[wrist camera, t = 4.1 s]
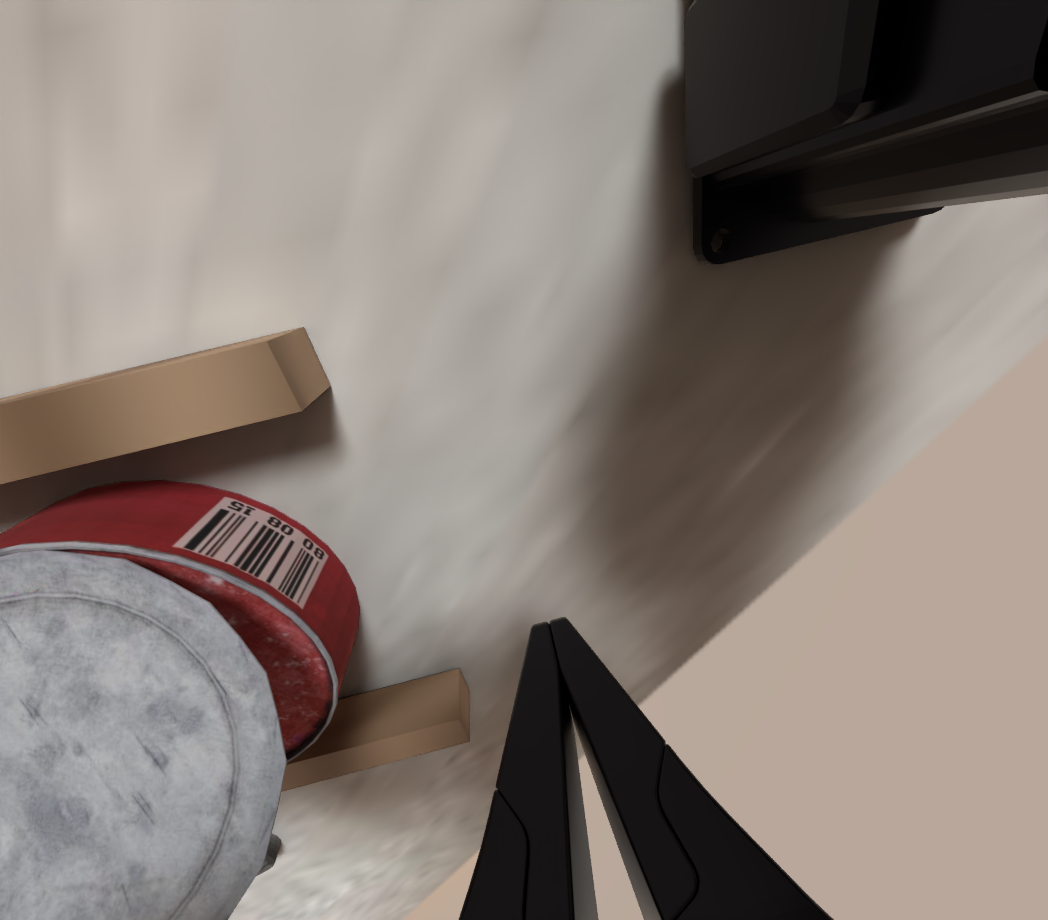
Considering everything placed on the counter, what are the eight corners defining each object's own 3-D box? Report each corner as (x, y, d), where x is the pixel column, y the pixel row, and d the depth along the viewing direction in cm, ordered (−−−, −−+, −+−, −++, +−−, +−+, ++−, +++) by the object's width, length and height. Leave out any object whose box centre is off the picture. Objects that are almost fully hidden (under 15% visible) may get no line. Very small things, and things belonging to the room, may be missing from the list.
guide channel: (304, 327, 9) (266, 341, 8) (469, 690, 16) (469, 741, 15) (-642, 550, 9) (-916, 621, 7) (-56, 828, 16) (-121, 898, 14)
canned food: (167, 570, 17) (-379, 812, 8) (229, 394, 13) (-694, 481, 4) (348, 751, 16) (-39, 1249, 7) (473, 619, 12) (-34, 1351, 3)
